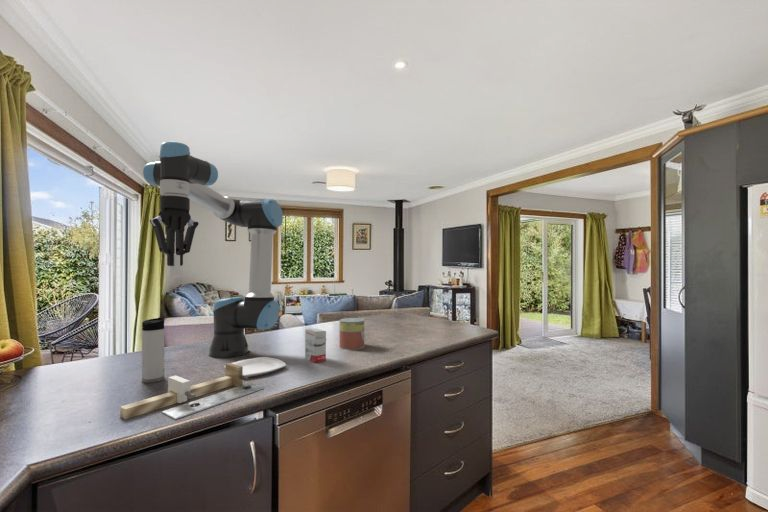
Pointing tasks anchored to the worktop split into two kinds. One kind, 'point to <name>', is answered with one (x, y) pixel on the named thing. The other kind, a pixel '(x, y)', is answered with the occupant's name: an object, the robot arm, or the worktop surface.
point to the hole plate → (211, 401)
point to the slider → (180, 388)
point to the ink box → (315, 345)
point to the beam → (231, 378)
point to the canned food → (351, 333)
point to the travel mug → (153, 350)
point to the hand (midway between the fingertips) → (175, 277)
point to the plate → (259, 366)
